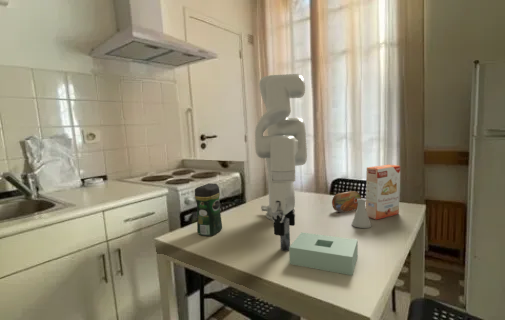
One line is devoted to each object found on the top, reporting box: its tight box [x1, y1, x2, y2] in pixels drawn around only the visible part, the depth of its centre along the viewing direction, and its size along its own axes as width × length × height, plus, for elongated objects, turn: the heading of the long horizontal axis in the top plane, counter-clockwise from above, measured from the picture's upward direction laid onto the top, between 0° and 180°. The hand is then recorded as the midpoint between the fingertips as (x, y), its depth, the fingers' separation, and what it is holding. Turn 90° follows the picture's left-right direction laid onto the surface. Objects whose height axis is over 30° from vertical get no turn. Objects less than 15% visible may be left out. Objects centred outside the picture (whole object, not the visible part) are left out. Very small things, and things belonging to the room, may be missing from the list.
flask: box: [351, 198, 372, 229], centre depth 108 cm, size 7×7×10 cm
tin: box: [331, 190, 362, 214], centre depth 128 cm, size 15×3×8 cm, turn 114°
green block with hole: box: [288, 232, 359, 276], centre depth 82 cm, size 17×12×5 cm
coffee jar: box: [194, 182, 223, 237], centre depth 108 cm, size 10×8×19 cm
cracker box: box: [365, 164, 401, 221], centre depth 118 cm, size 14×6×21 cm, turn 117°
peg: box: [279, 217, 291, 252], centre depth 90 cm, size 3×3×10 cm
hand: (284, 229), depth 90 cm, fingers open, 9 cm apart
